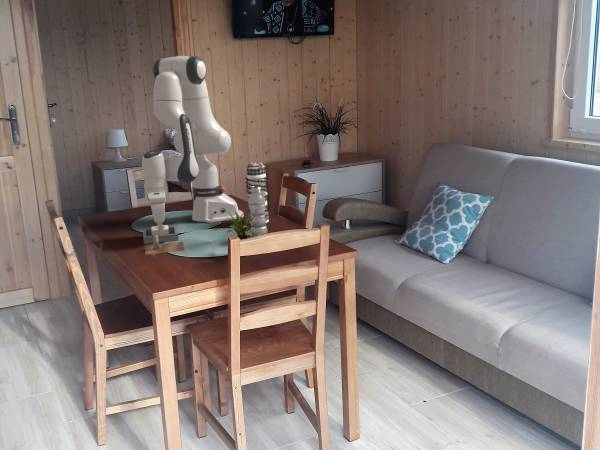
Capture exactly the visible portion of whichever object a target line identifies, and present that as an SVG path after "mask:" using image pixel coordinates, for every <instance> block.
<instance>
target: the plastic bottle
mask: <svg viewBox="0 0 600 450" xmlns="http://www.w3.org/2000/svg"><path fill="white" fill-rule="evenodd" d="M251 192H252V194H251V196H250V197H249V196H248V200H247V202H248V203H247V204H248V206H249V208H250V212H249V213H250V214H251V219H252V218H253V217H254V216H255V215H257V214H258V215H257V216H255V217H254V219H253V220H252V221H251V223H250V226H254V227H252V228H250V230H249V233H250V235H252V238H253V237H254V236H258V235H262V234H266V233H267V234H268V227H267V223H266V222H265V198H264V197H263V195H262V194H261V187H260V186H254V187H251ZM249 208H248V209H249ZM254 228H256V229H254ZM252 229H254V230H252ZM251 230H252V231H251ZM250 231H251V232H250Z"/></svg>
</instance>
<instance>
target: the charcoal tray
mask: <svg viewBox="0 0 600 450" xmlns="http://www.w3.org/2000/svg"><path fill="white" fill-rule="evenodd" d="M168 229H169V234H167V235H158V242H159V243H170V242H177V241H178V242H180V241H179V239H180V238H179V232H178V226H177V225H171V226H168ZM142 232H143V233H142V238H143V245H150V244H153V238H152V228H150V227H149V228H143V230H142Z"/></svg>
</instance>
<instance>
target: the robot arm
mask: <svg viewBox="0 0 600 450" xmlns="http://www.w3.org/2000/svg"><path fill="white" fill-rule="evenodd" d="M152 75H153V78H154V86H153V95H152V97H153V98H152V99H153V101H152V105H153V107H152V108H153V109H152V111H153V114H154V116H155V117H156V119H157V120H158V121H159V122H160V123H162V124H163V125H165V126H167V127H169V128H171V129H173V130H174V131H175V132H176V133H175V134H174V138H173V145H174V148H175V150H176V151H177V152H178V153H180V154H181V155H180V156H172V155H171V156H170V155H167V154H164V153H163V151H161V150H158V149H155V150H149V151H147V152H145V153H143V155H142V160H141V170H142V177H143V180H144V184H143V189H144V197H145V198H144V199H145V200H147V202H148V203H149V205H150V208H151V212H152V217H153V221H154V223H155V224H156V226H158V232H162V231H163V223H164V222H165V218H166V217H165V212H166V210H165V209H166V208H165V207H166V205H165V204H166V202H167V199H168V198H169V196H170V195H169V185H168V182H180V183H187V184H191V183H192V187H191V193H192V199H193V211H192V216H191V220H192V221H194V222H203V223H209V224H210V223H217V222H225V221H228V220H229V221H231V220H232V221H233V219H232V217H231V216H230V215H229V214H228V213H230V214H231V215H232V216H233V218H234V220H237V218H236V213H235V211H236V212H237V214H238V215H239V216H240V217H241V216H242V218H243V217H244V215H245V213H244V212H243V211H242V210H240V209H239V207H238V203H237V201H235V199H233V198H232V197H230V196H229V195H227V194H226V193H225V192H226V187H224V186H222V185H220V184H219V173H218V168H217V166H216V165H215V164H214V163H212V162H211V161H210V160H209V159H208V158H207V156H206V155H208V156H209V155H211V156H214V155H215V156H216V155H220V154H226V153H228V151H229V150H230V148H231V144H232V138H231V135H230V133H229V132H228V131H227V130H225V129H224V128H223V127H221V126H220V124H219V122H217V120H216V118H215V117H214V115H213V112H212V108H211V102H210V97H209V90H208V87H207V83H206V77H207V76H206V75H207V66H206V63H205V61H204V60H203V59H202V57H199V56H195V55H190V56H187V55H176V56H171V57H169V56H168V57H161V58H158V59H157V60H155V61H154V63H153V66H152ZM192 123H193V124H194V125H195V127H196V128H192ZM227 212H228V213H227ZM242 212H243V213H242ZM242 214H243V215H242ZM227 217H228V218H227ZM229 218H230V219H231V220H230V219H229ZM226 219H227V220H226Z"/></svg>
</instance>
